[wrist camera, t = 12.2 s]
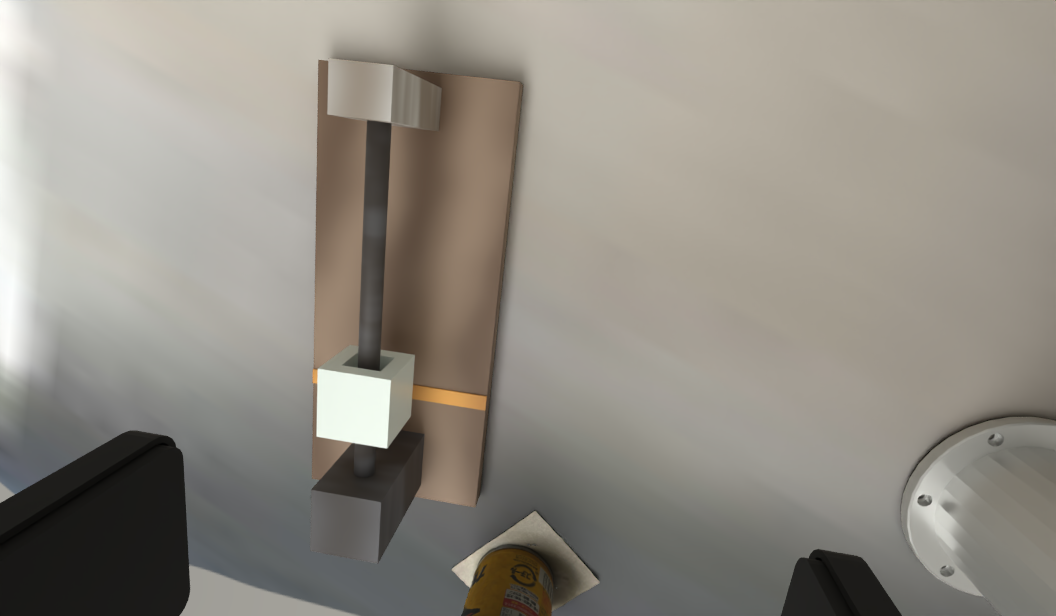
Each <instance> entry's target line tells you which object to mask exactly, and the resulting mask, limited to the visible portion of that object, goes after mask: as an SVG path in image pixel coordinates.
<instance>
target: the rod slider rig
mask: <svg viewBox="0 0 1056 616" xmlns="http://www.w3.org/2000/svg"><path fill="white" fill-rule="evenodd" d="M522 92H523V85H522V84H521V83H520V82H517V81H508V80H498V79H489V78H480V77H471V76H462V75H453V74H443V73H434V72H425V71H416V70H407V69H401V68H398V67H396V66H394V65H388V64H379V63H370V62H360V61H351V60H342V59H333V58H329V60H328V61H324V60H319V62H318V127H317V191H316V255H315V319H314V369H313V447H312V479H318V480H319V481H318V483H317V484H316V485H315V486H314V487H313V488H312V489H311V538H310V551H313V552H319V553H324V554H329V555H335V556H340V557H345V558H351V559H356V560H361V561H366V562H372V563H377V564H378V562H379V561H380V559H381V557H382V555H383V553H384V551H385V550H386V548H387V546H388V544H389V542H390V541H391V539H392V537H393V535H394V533H395V531H396V530H397V528H398V526H399V524H400V522H401V520H402V519H403V517H404V515H405V513H406V511H407V510H408V508H409V506H410V504H411V502H412V500H413V499H414V497H419V498H425V499H431V500H436V501H442V502H448V503H453V504H459V505H465V506H470V507H476V504H477V501H478V498H479V496H480V487H481V478H482V469H483V459H484V450H485V440H486V431H487V421H488V412H489V403H490V393H491V384H492V374H493V365H494V356H495V346H496V337H497V327H498V318H499V308H500V299H501V290H502V280H503V271H504V261H505V252H506V242H507V233H508V224H509V214H510V205H511V195H512V186H513V177H514V167H515V158H516V148H517V139H518V129H519V120H520V111H521V101H522ZM349 345H354V346H358V368H362V369H369V370H375V371H380V354H381V350H386V351H393V352H399V353H406V354H412V355H415V361H414V376H413V392H412V407H411V417H410V418H409V420H408V421H407V422H406V424H405V425H404V426H403V428H402V429H401V430H400V432H399V433H398V435H397V436H396V437H395V439H394V440H393V441H392V443H391V444H390V445H389V447H388V448H387V449H386V448H380V447H375V446H369V445H363V444H357V443H351V442H345V441H339V440H333V439H327V438H321V437H316V435H317V378H318V368H319V367H321V366H322V365H323V364H325V363H326V362H327V361H329V360H330V359H331V358H333V357H334V356H335V355H337V354H338V353H340V352H341V351H342V350H344V349H345V348H346V347H348V346H349Z"/></svg>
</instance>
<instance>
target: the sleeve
mask: <svg viewBox="0 0 1056 616" xmlns="http://www.w3.org/2000/svg"><path fill="white" fill-rule="evenodd" d="M414 361H415V355H412V354H406V353H399V352H393V351H386V350H381V354H380V371H375V370H369V369H362V368H358V346H354V345H349V346H348V347H346V348H345V349H344V350H342V351H341V352H340V353H338V354H337V355H335V356H334V357H333V358H331V359H330V360H329V361H327V362H326V363H325V364H323V365H322V366H321V367H319V368H318V378H317V435H316V437H321V438H327V439H333V440H339V441H345V442H351V443H357V444H363V445H369V446H375V447H380V448H386V449H387V448H388V447H389V445H390V444H391V443H392V441H393V440H394V439H395V437H396V436H397V435H398V433H399V432H400V430H401V429H402V428H403V426H404V425H405V424H406V422H407V421H408V420H409V418H410V417H411V407H412V392H413V376H414Z"/></svg>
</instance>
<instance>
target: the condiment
mask: <svg viewBox="0 0 1056 616" xmlns="http://www.w3.org/2000/svg"><path fill="white" fill-rule="evenodd" d="M527 544H530V546H528V545H527ZM532 544H536V545H537V546H533V545H532ZM451 570H452V571H453V572H455V574H456V575H457V576H458V577H459V578H460V579H461V580H462V581H464V583H465V584H466V585H467V586H469V587H470V590H469V593H468V597H467V599H466V603H465V605H464V610H463V613H462V615H461V616H551V613H552V611H553V610H555V609H557V608H558V607H561V606H563V605H565V604H566V603H567V602H569V601H570V600H572V599H574V598H575V597H576V596H578V595H580V594H581V593H583V592H585V591H587V590H589V589H591V588H592V587H593V586H595V585H597V584H598V583H600V582H599V581H598V580H597V578H596V577H595V576H594V575H593V574H592V572H591V571H590V570H589V569H588V568H587V567H586V565H585V564H584V563H583V562H582V561H581V560H580V559H579V558H578V556H577V555H576V554H575V553H574V552H573V551H572V550H571V549H570V548H569V546H568V545H567V544H566V543H565V542H564V541H563V539H562V538H560V537H559V536H558V535H557V534H556V533H555V532H554V531H553V529H552V528H551V527H550V526H549V525H548V524H547V523H546V522H545V521H544V520H543V519H542V518H541V517H540V516H539V514H538V513H537V512H536V511H534V512H533V513H531V514H530V515H529V516H527V517H526V518H524V519H523V520H521V521H520V522H518V523H517V524H516V525H515V526H513V527H511V528H510V529H508V530H507V531H506V532H504V533H503V534H501V535H500V536H498V537H497V538H495V539H493V540H492V541H490V542H489V543H487V544H486V545H485V546H483V547H482V548H480V549H479V550H477V551H476V552H475V553H473V554H472V555H470V556H469V557H467V558H466V559H465V560H463V561H462V562H460V563H459V564H458V565H456V566H455V567H454V568H453V569H451ZM556 587H558V588H557V589H556Z"/></svg>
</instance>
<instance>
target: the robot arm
mask: <svg viewBox="0 0 1056 616" xmlns="http://www.w3.org/2000/svg"><path fill="white" fill-rule="evenodd" d="M901 523H902V529H903V532H904V535H905V538H906V541H907V543H908V544H909V546H910V548H911V549H912V551H913V552H914V554H915V555H916V557H917V558H918V559H919V560H920V561H921V562H922V564H923V565H924V566H925V567H926V569H927V570H928V571H930V572H931V573H932V574H933V575H934V576H935V577H936V578H938V579H939V580H941V581H942V582H944V583H946V584H948V585H949V586H951V587H953V588H955V589H957V590H960V591H963V592H966V593H969V594H972V595H975V596H981V597H985V598H986V599H987V600H988V602H989V603H990V604H991V605H992V606H993V607H994V608H995V609H996V611H997V612H998V613H999V614H1000V615H1001V616H1056V421H1054V420H1050V419H1044V418H1037V417H1007V418H1001V419H995V420H989V421H986V422H983V423H980V424H977V425H974V426H971V427H968V428H966V429H964V430H962V431H960V432H958V433H956V434H954V435H952V436H950V437H949V438H947V439H946V440H944V441H943V442H942V443H940V444H939V445H938V446H936V447H935V448H934V449H932V450H931V451H930V453H929V454H928V455H927V456H926V457H925V458H924V459H923V460H922V461H921V462H920V463H919V464H918V466H917V467H916V469H915V471H914V472H913V474H912V475H911V477H910V478H909V481H908V483H907V486H906V488H905V491H904V493H903V498H902V504H901ZM189 593H190V579H189V559H188V540H187V521H186V502H185V483H184V464H183V455H182V452H181V450H180V449H178V448H176V445H175V442H174V441H173V439H172V438H170V437H168V436H164V435H158V434H152V433H147V432H141V431H128V432H125V433H122V434H121V435H119V436H117V437H115V438H114V439H112V440H110V441H108V442H107V443H105V444H103V445H101V446H100V447H98V448H96V449H94V450H93V451H91V452H89V453H87V454H86V455H84V456H82V457H80V458H79V459H77V460H75V461H73V462H72V463H70V464H68V465H66V466H65V467H63V468H61V469H59V470H58V471H56V472H54V473H52V474H51V475H49V476H47V477H45V478H44V479H42V480H40V481H38V482H37V483H35V484H33V485H31V486H29V487H28V488H26V489H24V490H22V491H21V492H19V493H17V494H15V495H14V496H12V497H10V498H8V499H7V500H5V501H3V502H1V503H0V616H179V615H180V614H181V613H182V611H183V609H184V608H185V606H186V603H187V601H188V598H189ZM781 616H902V615H901V614H900V612H899V611H898V609H897V608H896V606H895V605H894V603H893V602H892V600H891V599H890V597H889V596H888V594H887V593H886V591H885V590H884V588H883V587H882V585H881V584H880V582H879V581H878V579H877V578H876V576H875V575H874V573H873V572H872V570H871V569H870V567H869V566H868V564H867V563H866V562H865V561H864V560H863V559H862V558H861V557H858V556H854V555H848V554H843V553H837V552H831V551H825V550H820V549H817V550H814V551H813V552H812V553H811V554H810V556H809V558H800V559H799V560H798V561H797V563H796V566H795V569H794V572H793V576H792V579H791V583H790V586H789V590H788V593H787V597H786V600H785V604H784V607H783V611H782V614H781Z"/></svg>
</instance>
